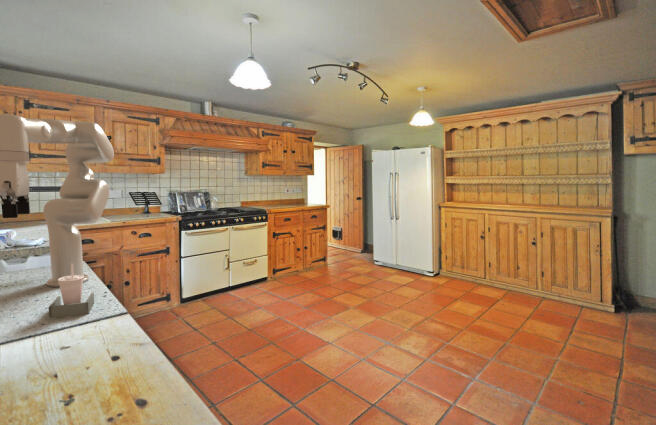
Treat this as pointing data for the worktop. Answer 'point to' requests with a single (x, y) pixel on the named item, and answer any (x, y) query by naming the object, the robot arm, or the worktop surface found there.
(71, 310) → the bay
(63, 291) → the smoothie
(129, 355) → the worktop surface
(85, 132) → the robot arm
